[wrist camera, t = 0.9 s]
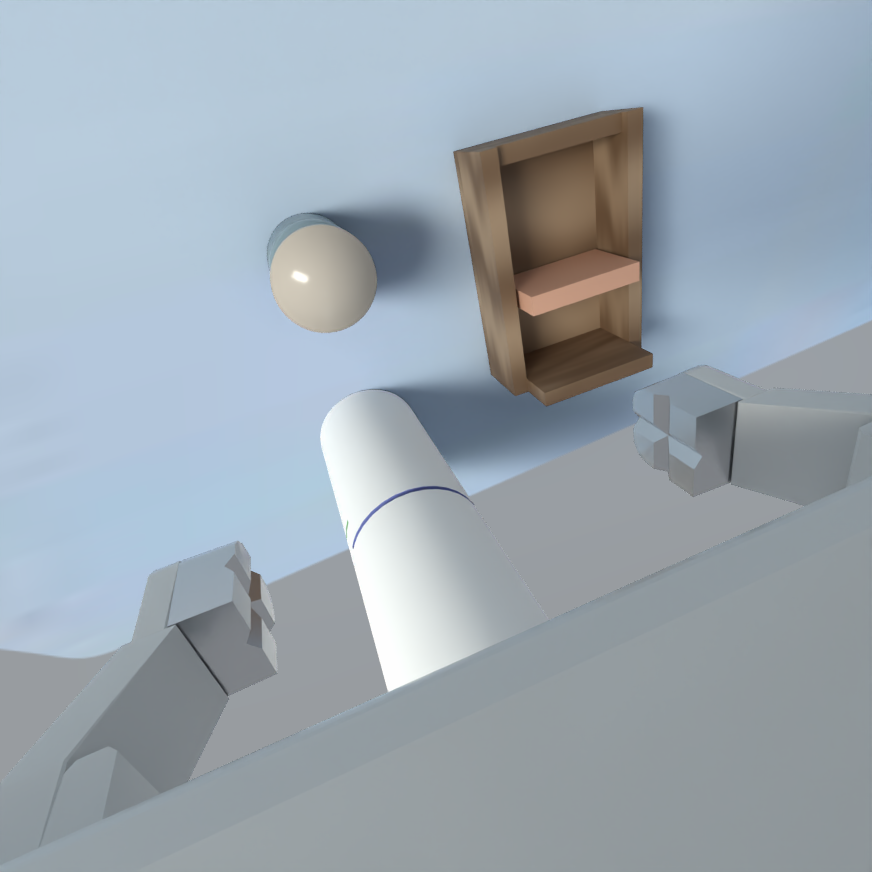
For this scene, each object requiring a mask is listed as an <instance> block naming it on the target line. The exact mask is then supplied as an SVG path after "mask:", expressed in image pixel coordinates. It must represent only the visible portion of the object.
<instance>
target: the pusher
mask: <svg viewBox="0 0 872 872" xmlns="http://www.w3.org/2000/svg"><path fill="white" fill-rule="evenodd" d="M639 269H640V262H639V261H636V260H632V259H629V258H625V257H621V256H618V255H614V254H611V253H607V252H604V251H600V250H597V249H593V250H590V251H587V252H584V253H581V254H578V255H575V256H572V257H568V258H565V259H562V260H559V261H556V262H553V263H550V264H547V265H543V266H540V267H537V268H534V269H531V270H528V271H525V272H522V273H519V274H515V275H514V283H515V291H516V298H517V306H518V308H520V309H522V310H523V311H525V312H527V313H529V314H530V315H532V316H537V315H539V314H542V313H545V312H548V311H551V310H554V309H557V308H560V307H563V306H566V305H569V304H572V303H575V302H578V301H581V300H584V299H587V298H590V297H593V296H596V295H599V294H602V293H605V292H608V291H611V290H614V289H617V288H619V287H622V286H625V285H628V284H631V283H634V282H637V281H639Z"/></svg>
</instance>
